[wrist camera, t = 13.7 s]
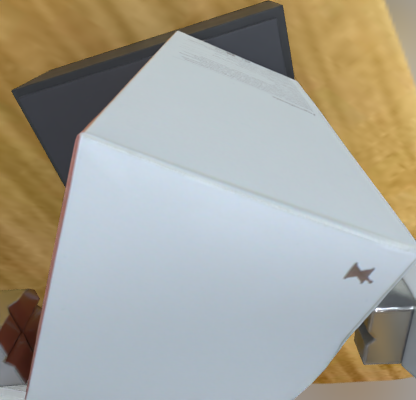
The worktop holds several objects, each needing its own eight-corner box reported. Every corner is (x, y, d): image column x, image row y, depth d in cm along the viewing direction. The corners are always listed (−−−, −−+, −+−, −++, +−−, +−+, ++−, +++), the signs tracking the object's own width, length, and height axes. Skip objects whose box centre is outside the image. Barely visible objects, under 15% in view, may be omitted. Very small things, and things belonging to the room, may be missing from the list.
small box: (175, 27, 16) (71, 121, 5) (300, 79, 17) (443, 254, 6) (130, 175, 20) (17, 409, 9) (234, 210, 21) (247, 461, 10)
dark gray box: (124, 221, 29) (106, 267, 24) (49, 70, 23) (6, 92, 18) (300, 180, 26) (318, 222, 22) (269, 0, 20) (284, 5, 16)
